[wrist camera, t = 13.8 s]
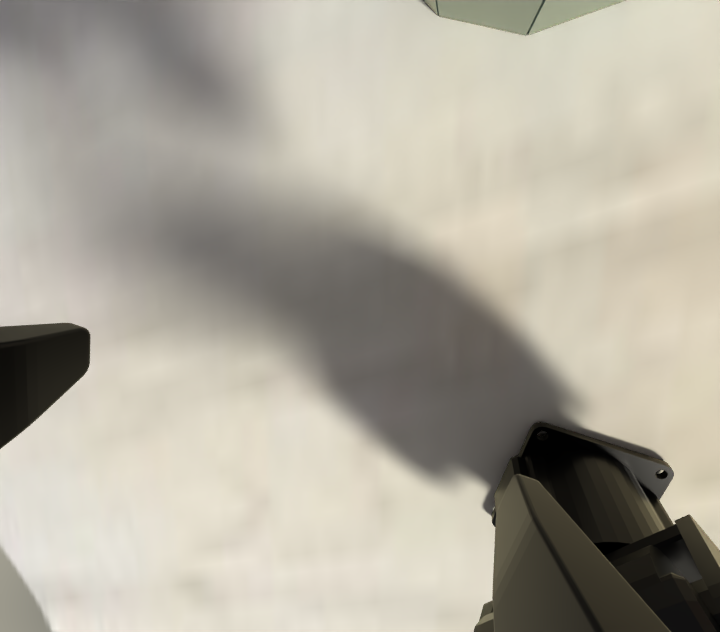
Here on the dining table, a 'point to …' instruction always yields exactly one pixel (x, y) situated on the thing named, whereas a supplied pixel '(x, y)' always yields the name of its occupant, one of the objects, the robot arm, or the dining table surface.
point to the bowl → (517, 12)
